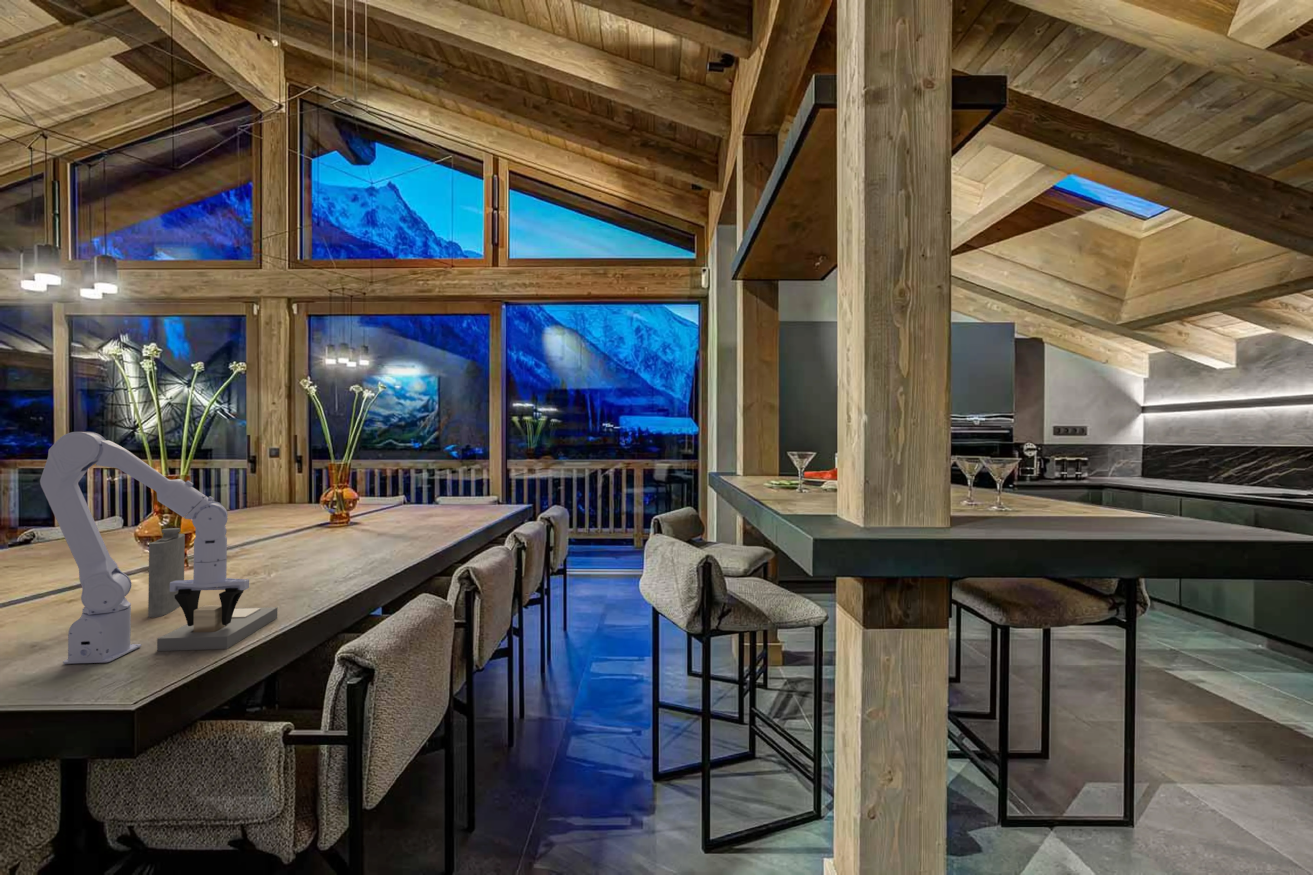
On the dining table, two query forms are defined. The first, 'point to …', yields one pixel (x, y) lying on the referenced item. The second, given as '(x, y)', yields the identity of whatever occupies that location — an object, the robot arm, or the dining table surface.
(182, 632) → the pocket plate
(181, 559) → the hip flask
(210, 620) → the peg
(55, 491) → the robot arm
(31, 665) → the dining table surface
